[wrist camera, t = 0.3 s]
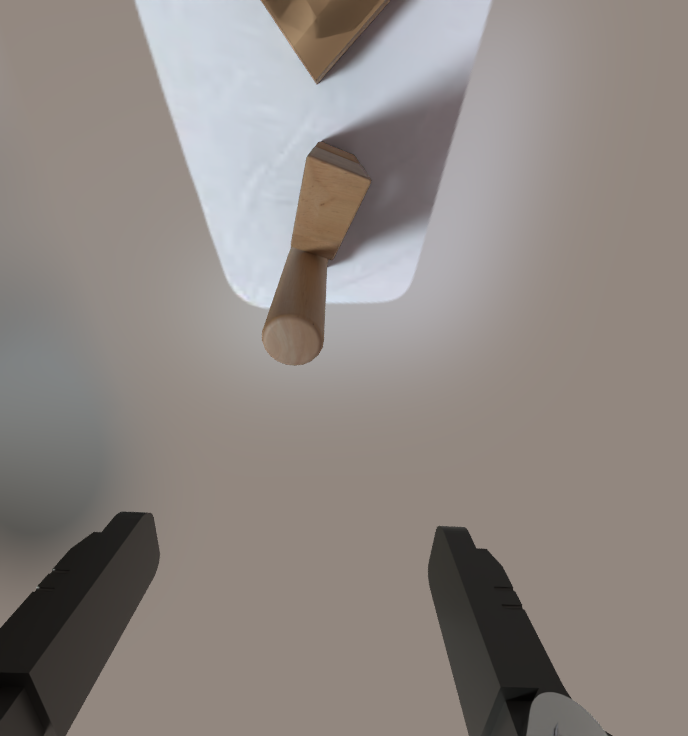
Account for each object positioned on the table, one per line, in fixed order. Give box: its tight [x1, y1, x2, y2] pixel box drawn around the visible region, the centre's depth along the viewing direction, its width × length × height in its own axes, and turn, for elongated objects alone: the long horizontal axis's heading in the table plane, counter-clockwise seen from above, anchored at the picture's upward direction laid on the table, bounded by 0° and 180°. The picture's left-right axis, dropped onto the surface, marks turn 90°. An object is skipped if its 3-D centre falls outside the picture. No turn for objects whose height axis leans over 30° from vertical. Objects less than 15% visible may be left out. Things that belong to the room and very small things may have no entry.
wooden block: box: [262, 142, 371, 365], centre depth 24 cm, size 4×11×18 cm, turn 161°
